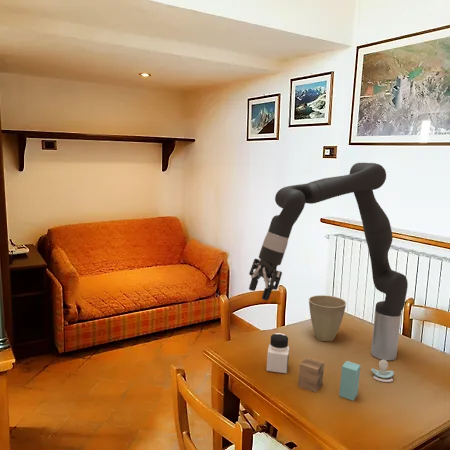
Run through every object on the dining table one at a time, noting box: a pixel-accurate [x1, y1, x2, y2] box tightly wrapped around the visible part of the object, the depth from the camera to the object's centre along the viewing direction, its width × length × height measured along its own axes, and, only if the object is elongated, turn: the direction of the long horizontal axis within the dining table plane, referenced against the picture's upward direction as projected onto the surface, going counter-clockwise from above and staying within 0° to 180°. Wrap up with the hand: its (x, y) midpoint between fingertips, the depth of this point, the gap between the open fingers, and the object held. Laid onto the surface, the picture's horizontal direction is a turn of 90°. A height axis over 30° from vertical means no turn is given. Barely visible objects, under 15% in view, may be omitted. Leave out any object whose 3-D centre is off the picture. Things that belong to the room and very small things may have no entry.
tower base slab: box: [297, 374, 324, 393], centre depth 139 cm, size 6×6×4 cm
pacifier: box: [371, 359, 395, 383], centre depth 146 cm, size 7×6×6 cm
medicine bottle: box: [266, 332, 290, 374], centre depth 150 cm, size 7×7×12 cm
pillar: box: [338, 360, 361, 402], centre depth 134 cm, size 4×4×10 cm
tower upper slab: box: [298, 356, 325, 381], centre depth 139 cm, size 6×6×4 cm
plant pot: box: [308, 294, 347, 342], centre depth 176 cm, size 15×15×16 cm
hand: (257, 294), depth 139 cm, fingers open, 8 cm apart
